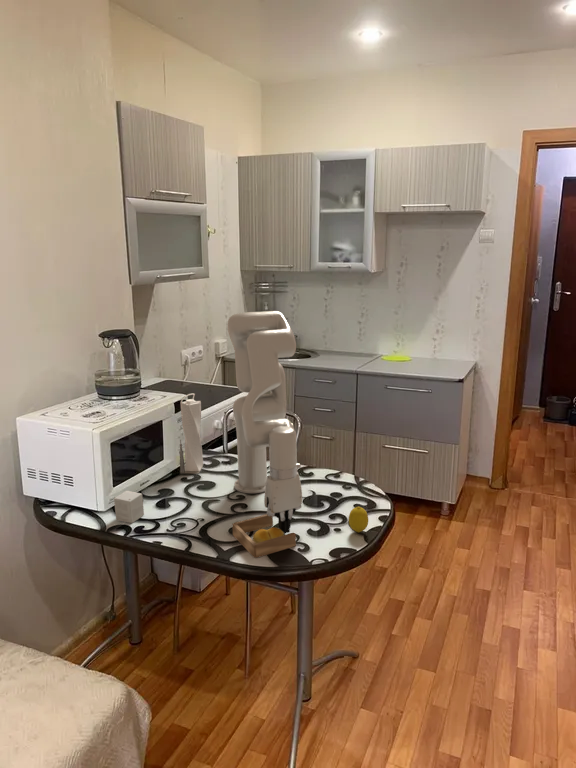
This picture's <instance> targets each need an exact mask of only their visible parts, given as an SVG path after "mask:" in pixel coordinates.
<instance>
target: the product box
mask: <svg viewBox="0 0 576 768" xmlns="http://www.w3.org/2000/svg"><path fill="white" fill-rule="evenodd" d="M143 500H144V499H143V493H140V492H136V491H135V492H134V491H131V490H124V491H123V492H122V493H120V494H119V495H117V496H116V497H114V498H113V502H114V511H115V520H116V521H120V522H124V523H128V524H134V523H135V522H136V521H138V520H139V519H140V518H142V517H143V516H144V515H145V512H144V510H145V509H144V501H143Z"/></svg>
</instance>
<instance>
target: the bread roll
mask: <svg viewBox="0 0 576 768" xmlns="http://www.w3.org/2000/svg"><path fill="white" fill-rule="evenodd" d="M283 535H285V534H284V533H283V531H282V530H280V529H279V527H270V528H269V529H265V528H262V529H258V530H255V532H254V533H253V535H252V540H253V541H254V542H255V543H260V542H263V541H266V540H270V539H273V538H277V537H280V536H283Z"/></svg>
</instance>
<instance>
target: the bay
mask: <svg viewBox="0 0 576 768" xmlns="http://www.w3.org/2000/svg"><path fill="white" fill-rule="evenodd" d="M273 518H274V517H269V516H268V515H267V514H265V513H264V514H261V515H258V516H255V517H249V518H247V519H243V520H239V521H236V522H233V523H232V524H231V525H232V526H231V528H232V536H233V537H234V538H235V539H236V540H237V541H238V542H239V544H240V545H241V546H242V547H244V549H245V550H246V551H247V552H248V553H249V554H250V555H251V556H252V557H253V559H255V558H260V557H264V556H266V555H270V554H274V553H277V552H280V551H284V550H287V549H290V548H294V547H296V545H297V542H296V541H297V540H296V539H297V538H296V537H297V534H296V532H291V533H290V532H289V533H286V534H284V535H283V536H280V537H277V538H273V539H270V540H266V541H263V542H260V543H255V542H254V541H253V538H251V537H250V536H249V535H248V534H247V533H251V532H254V531H255V532H256V531H258V530H260V529H265V528H269V527H272V526H273V525H274V524H273V523H274V520H273Z"/></svg>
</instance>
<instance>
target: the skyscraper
mask: <svg viewBox="0 0 576 768" xmlns="http://www.w3.org/2000/svg"><path fill="white" fill-rule="evenodd" d="M195 395H196V393H188V394H186V395H185V396H183V397H182V399H181V400H180V413H181V414H180V416H181V424H182V430H183V434H184V450H183V444H182V440H181V439H180V440H179V443H180V444H179V452H178V453H179V466H180V467H179V470H180V471H179V474H189V475H190V474H192V475H193V474H195V475H196V474H198V475H199V474H200V472H201V471H202V469H203V467H204V457H203V447H202V440H201V437H200V432H201V426H202V425H201V424H202V402H201V401H202V400H195ZM189 396H192V398H190V399H189V398H188V399H186V400H185V401H183V400H184V399H185V398H186V397H189Z"/></svg>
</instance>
